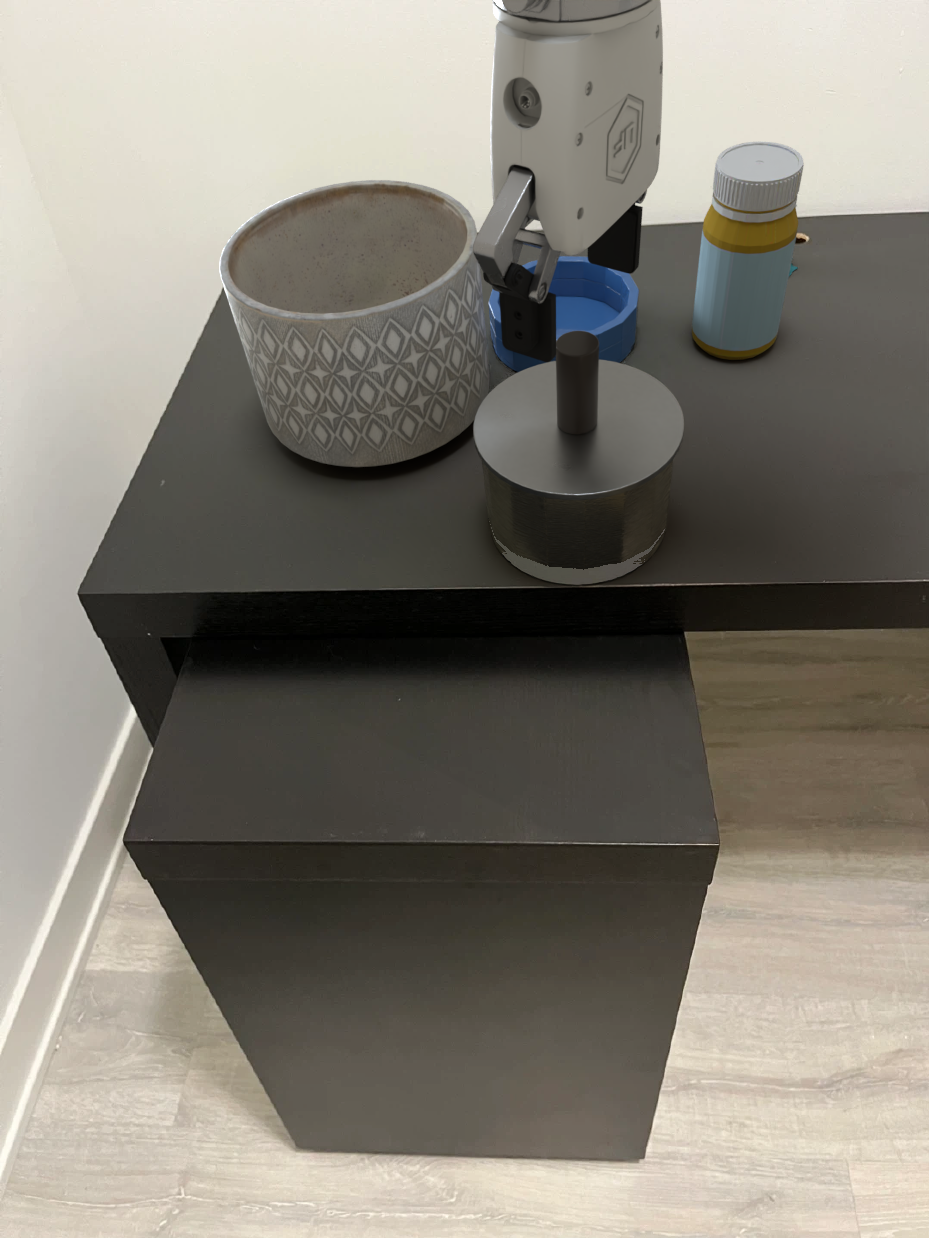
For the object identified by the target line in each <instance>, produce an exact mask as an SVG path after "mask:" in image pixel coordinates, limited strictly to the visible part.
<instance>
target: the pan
mask: <svg viewBox="0 0 929 1238" xmlns="http://www.w3.org/2000/svg"><path fill="white" fill-rule="evenodd" d="M537 261H538V259H536V260H531V261H529V262H527V263H525V264H523V265H522V264H521V265H522V266H523V267H524V268H526V269H527V270H528V271H530V272H531V273H532V274H534V271H535V268H536V264H537ZM491 290H492V291H491V292H490V296H489V299H488V301H487V302H488V314H489V315H488V316H489V329H490V338H491V341H492V346H493V350H494V352H495V354H496V356H497V357H498V358H499V360H500V361H501V362H502V363H503V364H504V365H505V366H507V367H508V368H510V369H511V370H512V371H515V372H516V373H518V372H520V371H523V370H525V369H527V368H530V367H533V366H536V365H539V364H543V363H547V362H543V361H540V360H537V359H534V358H531V357H528V356H525V355H522V354H519V353H516V352H513V351H509V350H507V349H506V348H505V347H504V346H503V344H502V332H501V315H500V298H499V292H498V291H495V290H493V288H492V289H491ZM548 292H550V293H553V294H556V341H557V339H558V338H559V337H560V336H561V335H563V334H565V333H568V332H571V331H586V332H589V333H592V334H593V335H595V336H596V337H597V339H598V341H599V360H607V361H613V362H617V363H622V361H624V360H625V359H626V358H627V357H628V356H629V354H630V353H631V351H632V350H633V349H634V346H635V343H636V338H637V329H638V320H639V319H638V315H639V299H640V298H639V296H640V289H639V287H638V286H637V284H636V282H635V281H634V279H633V277H632V275H631V274H629V273H624V272H621V271H617V270H613V269H609V268H606V267H602V266H598V265H595V264H591V263H590V262H589V261H588V257H587V256H580V255H579V256H578V255H574V256H570V255H560V256H559V259H558V262H557V265H556V268H555V272H554V275H553V278H552V281H551V284H550V287H549V291H548ZM552 361H556V356H555V357H554V358H553V359H552V360H551V361H550V362H552Z"/></svg>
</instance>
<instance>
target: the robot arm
mask: <svg viewBox="0 0 929 1238" xmlns="http://www.w3.org/2000/svg"><path fill="white" fill-rule="evenodd" d="M491 1H492V12H493V16H494V17H495V19H496V21H498V22H497V23H496V25H495V28H494V29H495V30H494V42H493V43H494V44H493V53H492V56H493V57H492V71H491V87H490V89H491V92H490V93H491V94H490V133H489V134H490V174H491V175H490V176H491V193H492V194H491V196H492V206H491V208H490V210H489V211H488V214H487V215H486V218H485V220H484V221H483V223H482V225H481V226H480V229H479V230H478V232H477V237H476V238H475V241H474V244H473V253H474V256H475V258H476V259H477V261H478V263H479V265H480V270H481V271H482V277H483V280H484V281H485V283H487V284H489V285H490V286H491V287H492V289H493V290H495V291H498V292H499V298H500V315H501V332H502V344H503V346H504V347H505V348H506V349H507V350H509V351H513V352H516V353H519V354H522V355H525V356H528V357H531V358H534V359H537V360H540V361H543V362H550V361H551V360H552V359H553V358H554V357H555V356H556V294H553V293H550V292H548V291H549V287H550V284H551V281H552V278H553V275H554V272H555V268H556V265H557V262H558V259H559V256H561V253H563V254H564V256H578V255H579V254H581V253H583V252H584V251H585V250H587V255H586V257H588V261H589V262H590V263H591V264H595V265H598V266H602V267H606V268H609V269H613V270H617V271H621V272H624V273H628V274H630V275H631V274H634V272H635V271H636V270H637V269H638V268H639V265H640V253H641V252H640V251H641V238H642V237H641V236H642V225H643V224H642V222H643V208H644V207H643V206H640V205H638V204H642V203H643V202H644V200H645V199H646V196H647V194H648V193H647V192H648V189H649V188H650V186H651V185H652V183H653V182H654V180H655V179H656V176H657V174H658V171H659V165H660V154H661V135H662V113H663V112H662V111H663V79H664V78H663V76H664V74H663V71H664V43H663V42H664V41H663V36H664V35H663V20H662V19H663V17H662V3H661V0H491ZM533 221H537V222H539V223H540V226H541V228H542V231H543V233H542V232H539V231H533V230H530V229H526V228H527V227H528V226H529V225H530V224H531V223H533ZM524 245H525V246H529V247H532V248H535V249H540V251H539V255H538V258H537V260H538V261H537V264H536V268H535V271H534V274H532V273H531V272H530V271H528V270H527V269H526V268H524V267H523V266H522V264H519V263H518V262H519V259H520V255H521V252H522V249H523V246H524Z"/></svg>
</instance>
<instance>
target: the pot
mask: <svg viewBox="0 0 929 1238" xmlns="http://www.w3.org/2000/svg"><path fill="white" fill-rule="evenodd" d="M481 463H482V471H483V473H482V474H483V483H484V493H485V502H486V503H485V505H486V512H487V521H488V526H489V528H490V533H491V538H492V540H493V542H494V545H495V547H496V548H497V550H498V551H499V553H500V554H501V553H503V552H506V551H505V550H504V549H503V548H502V547H501V546H500V545H499V544H498V543H497V542H496V540H495V538H494V536H495V537H496V539H497V540H499V541H500V542H501V543H502V544H503V545H504V546H506V547H507V548H508V549H509V550H510V551H511V552H513V553H515V554H516V555H517V556H518V555H519V556H520V557H521V556H522V557H523V558H527V559H530V560H532V561H535V562H537V563H540V564H543V565H545V566H547V565H548V566H549V567H562V568H573V569H574V568H576V569H583V570H584V569H588V568H594V567H600V566H603V565H608V564H617V563H621V562H624V561H626V560H627V559H630V558H632V557H634V556H635V555H637V554H639V553H641V552H644V551H645V550H647V549H649V548H650V547H651V546H652V545H653V544H654V542H655V541H656V540H657V539H658V537H659V536H660V535H661V533H662V532H663V530H664V529H665V528H666V529H665V531H664V533H663V534H662V535H661V537H660V538H659V540H658V541H657V542H656V544H655V545H654V547H653V548H652V550H651V551H650V552H649V553H648V554H646V555H644V556H643V557H641V558H639V559H641V561H638V560H637V561H634V562H642V563H638V564H643V565H644V564H645V563H646V562H648V561H649V560H650V559H651V558H652V557H653V556H654V554H655V553H656V552H657V551H658V549H659V547H660V545H661V544H662V542H663V540H664V536H665V535H666V533H667V532H666V531H667V524H668V523H667V522H668V511H669V503H670V493H671V484H672V474H673V465H674V459H673V460H672V461H671V463H670V464H669V465H668V466H667V467H666V468H665V469H664V470H663V471H662V472H661V473H659V474H658V475H657V476H656V477H654V478H653V479H651V480H650V481H648V482H646V483H645V484H643V485H641V486H639V487H637V488H635V489H632V490H629V491H626V492H624V493H621V494H617V495H613V496H609V497H604V498H598V499H590V500H560V499H551V498H546V497H541V496H537V495H533V494H530V493H527V492H524V491H522V490H519V489H517V488H515V487H513V486H511V485H509V484H507V483H506V482H504V481H502V480H501V479H499V478H498V477H497V476H496V475H494V474H493V473H492V472H491V471H490V470H489V469H488V468H487V467H486V466H485V464H484V463H483V461H482V460H481ZM488 518H489V519H488ZM489 521H490V522H489ZM490 524H491V525H490ZM491 527H492V529H491ZM492 530H493V532H492ZM493 533H494V535H493ZM504 554H507V553H504ZM648 558H649V559H648ZM644 559H645V560H644ZM644 561H645V562H644ZM633 564H636V563H633Z"/></svg>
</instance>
